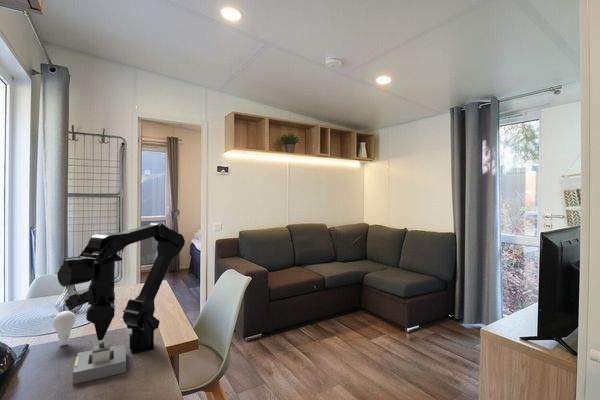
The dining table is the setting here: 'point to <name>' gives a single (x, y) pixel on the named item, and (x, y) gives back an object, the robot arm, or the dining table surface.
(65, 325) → the lightbulb
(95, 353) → the plug
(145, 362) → the dining table surface
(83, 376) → the socket
